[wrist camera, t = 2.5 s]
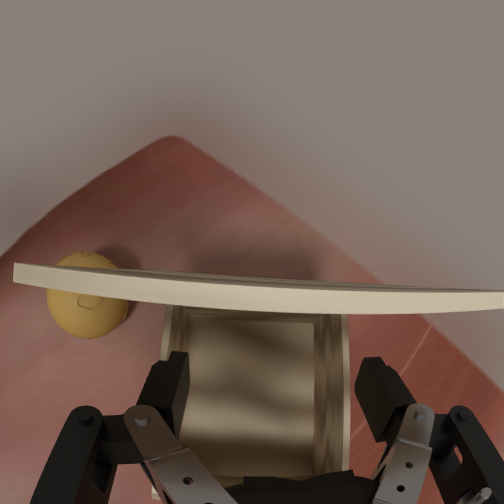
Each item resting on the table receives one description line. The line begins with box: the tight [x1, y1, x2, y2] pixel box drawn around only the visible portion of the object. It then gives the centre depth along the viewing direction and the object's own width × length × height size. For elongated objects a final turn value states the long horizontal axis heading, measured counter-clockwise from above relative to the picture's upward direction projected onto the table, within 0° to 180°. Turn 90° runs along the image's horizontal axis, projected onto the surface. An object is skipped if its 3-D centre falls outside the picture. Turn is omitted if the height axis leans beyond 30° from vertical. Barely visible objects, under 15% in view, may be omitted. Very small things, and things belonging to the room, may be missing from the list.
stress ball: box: [47, 251, 129, 339], centre depth 29 cm, size 10×10×10 cm
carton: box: [152, 304, 350, 500], centre depth 26 cm, size 20×16×10 cm
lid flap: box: [13, 263, 504, 314], centre depth 16 cm, size 20×16×1 cm
